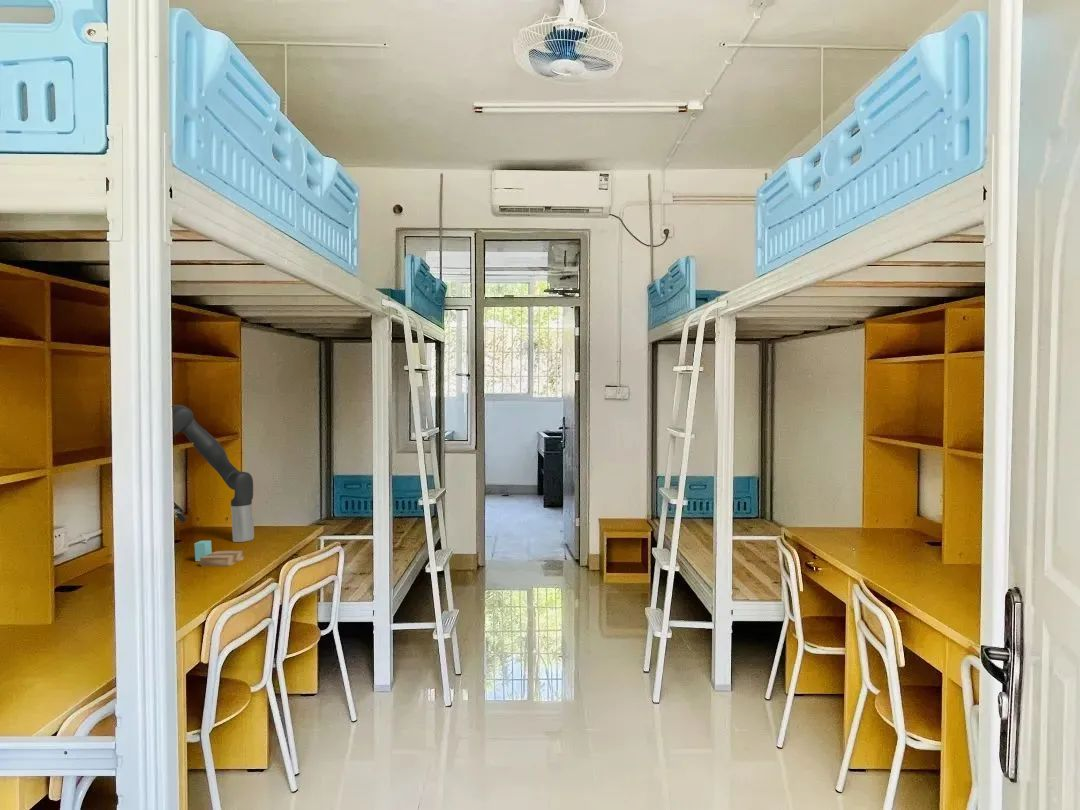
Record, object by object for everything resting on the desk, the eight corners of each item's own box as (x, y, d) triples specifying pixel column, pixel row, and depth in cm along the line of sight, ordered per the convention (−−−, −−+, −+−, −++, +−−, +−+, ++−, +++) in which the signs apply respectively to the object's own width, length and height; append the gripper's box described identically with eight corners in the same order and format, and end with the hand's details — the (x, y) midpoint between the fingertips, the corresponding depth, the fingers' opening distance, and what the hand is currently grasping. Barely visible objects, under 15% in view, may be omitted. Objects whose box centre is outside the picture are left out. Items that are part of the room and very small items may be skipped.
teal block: (202, 558, 287) (201, 540, 287) (212, 558, 287) (211, 540, 286) (195, 561, 283) (194, 543, 282) (205, 561, 282) (204, 543, 282)
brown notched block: (217, 559, 286) (217, 550, 286) (243, 559, 285) (243, 550, 285) (200, 567, 274) (200, 558, 274) (227, 567, 273) (227, 558, 273)
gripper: (146, 494, 279) (173, 520, 278) (168, 488, 293) (194, 513, 292) (135, 506, 279) (162, 533, 279) (158, 500, 294) (184, 526, 293)
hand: (178, 523), depth 285 cm, fingers open, 8 cm apart
